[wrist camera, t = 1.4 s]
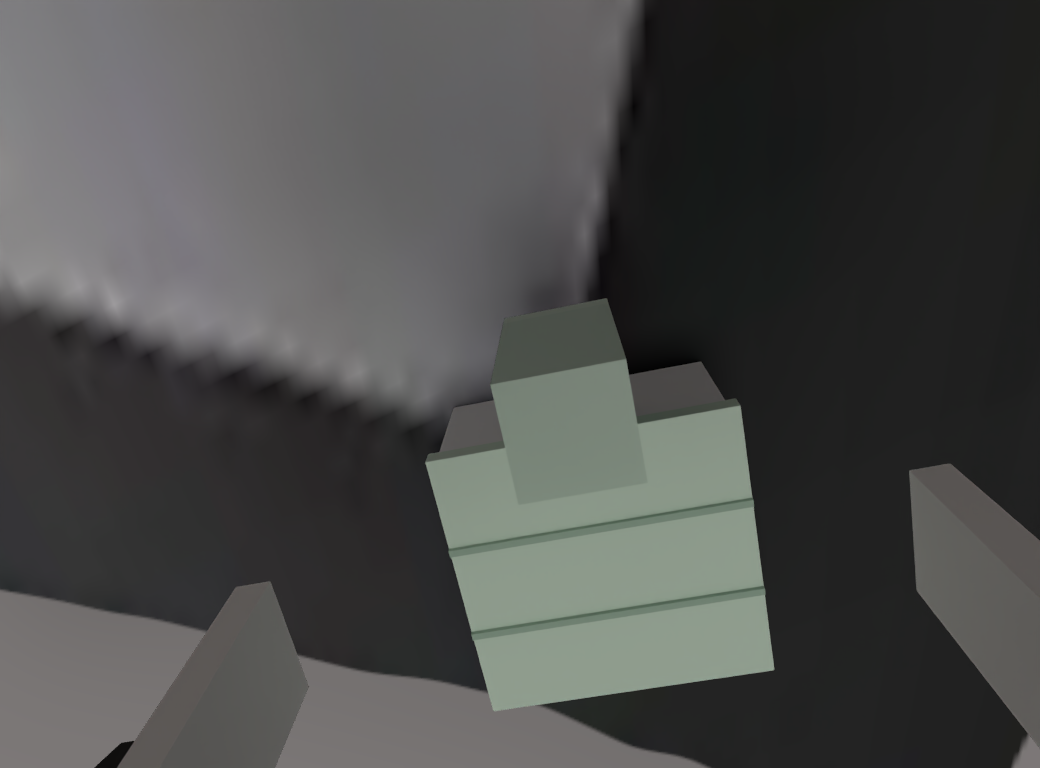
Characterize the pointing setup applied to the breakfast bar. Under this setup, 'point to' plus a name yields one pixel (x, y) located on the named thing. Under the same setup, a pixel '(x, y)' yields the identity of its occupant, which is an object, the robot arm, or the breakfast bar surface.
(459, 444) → the tub
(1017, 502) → the breakfast bar surface
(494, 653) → the green stepped block
